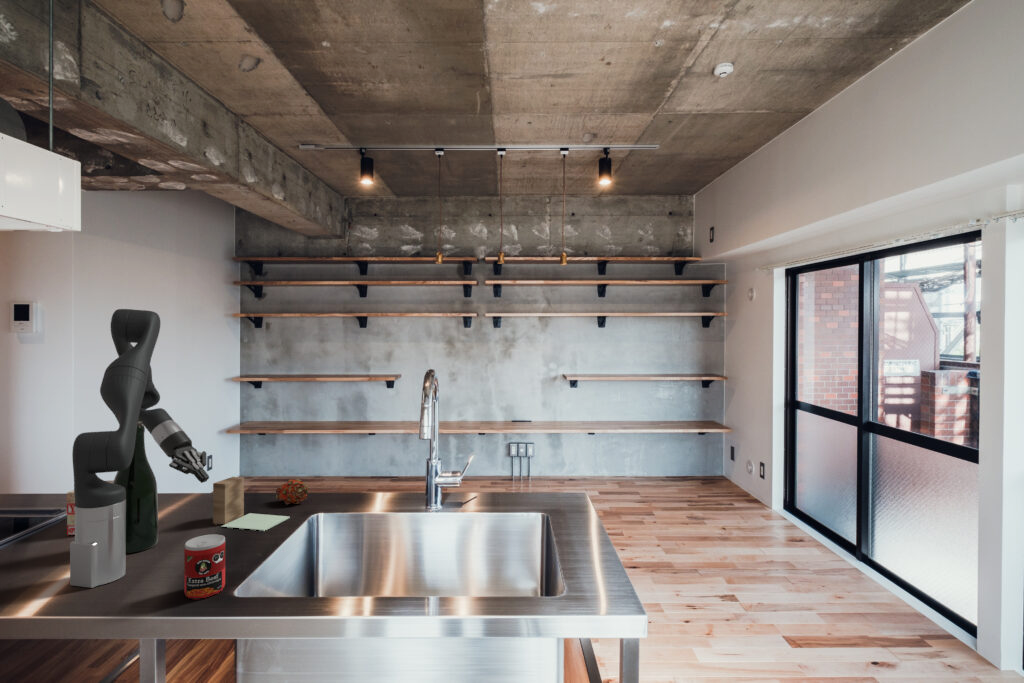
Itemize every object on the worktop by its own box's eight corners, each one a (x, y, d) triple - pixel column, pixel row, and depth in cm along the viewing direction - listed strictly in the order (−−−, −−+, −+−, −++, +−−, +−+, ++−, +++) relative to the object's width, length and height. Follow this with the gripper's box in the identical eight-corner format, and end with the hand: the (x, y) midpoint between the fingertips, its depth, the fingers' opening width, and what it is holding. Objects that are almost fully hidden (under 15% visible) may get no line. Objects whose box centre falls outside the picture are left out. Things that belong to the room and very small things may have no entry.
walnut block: (224, 525, 160) (224, 484, 160) (212, 524, 160) (212, 483, 160) (243, 516, 167) (243, 477, 167) (231, 515, 168) (231, 476, 168)
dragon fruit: (307, 510, 179) (278, 512, 182) (319, 489, 185) (290, 491, 189) (294, 493, 174) (264, 495, 178) (307, 472, 181) (277, 475, 185)
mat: (264, 531, 155) (264, 529, 155) (221, 527, 158) (221, 526, 158) (289, 517, 166) (289, 516, 166) (249, 514, 169) (249, 513, 169)
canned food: (181, 603, 112) (181, 549, 112) (187, 586, 120) (187, 536, 120) (223, 596, 115) (223, 544, 115) (226, 580, 123) (226, 532, 123)
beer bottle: (142, 554, 137) (143, 423, 137) (99, 555, 137) (99, 424, 137) (166, 539, 148) (166, 417, 148) (126, 540, 147) (126, 418, 147)
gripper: (160, 433, 161) (196, 477, 158) (195, 426, 174) (228, 467, 171) (145, 450, 162) (180, 494, 160) (181, 442, 175) (214, 483, 173)
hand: (205, 480), depth 165 cm, fingers closed
